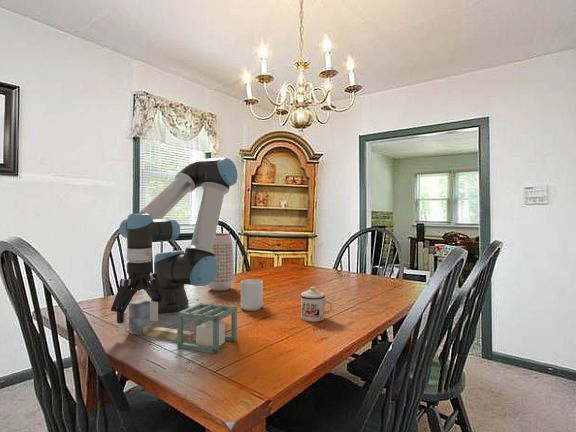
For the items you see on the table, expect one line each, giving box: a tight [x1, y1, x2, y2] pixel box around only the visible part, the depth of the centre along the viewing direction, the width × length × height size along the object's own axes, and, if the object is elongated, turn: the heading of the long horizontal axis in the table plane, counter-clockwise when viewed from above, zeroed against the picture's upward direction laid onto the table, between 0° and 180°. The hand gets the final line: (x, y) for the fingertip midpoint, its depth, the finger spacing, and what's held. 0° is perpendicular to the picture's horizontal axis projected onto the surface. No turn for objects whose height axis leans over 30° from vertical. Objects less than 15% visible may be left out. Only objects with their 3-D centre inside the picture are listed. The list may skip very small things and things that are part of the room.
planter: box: [207, 232, 235, 292], centre depth 180 cm, size 13×13×28 cm
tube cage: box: [176, 302, 238, 355], centre depth 106 cm, size 13×11×10 cm
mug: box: [240, 278, 264, 312], centre depth 147 cm, size 12×9×11 cm
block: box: [195, 320, 226, 347], centre depth 106 cm, size 6×6×6 cm
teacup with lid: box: [300, 286, 334, 323], centre depth 132 cm, size 12×9×12 cm
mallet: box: [128, 299, 196, 344], centre depth 112 cm, size 23×4×10 cm, turn 69°
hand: (139, 326), depth 116 cm, fingers open, 13 cm apart
